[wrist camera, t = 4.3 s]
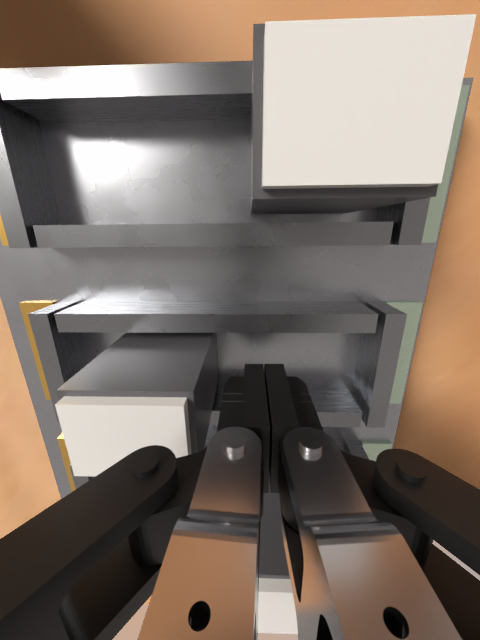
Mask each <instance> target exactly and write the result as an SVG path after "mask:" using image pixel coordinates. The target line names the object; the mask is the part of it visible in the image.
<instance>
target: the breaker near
mask: <svg viewBox="0 0 480 640" xmlns="http://www.w3.org/2000/svg"><path fill="white" fill-rule="evenodd" d="M475 19H476V14H470V15H441V16H412V17H383V18H354V19H325V20H296V21H268V22H265V24H254V27H253V69H252V110H251V214H319V213H351V212H356V211H361V210H367V209H372V208H377V207H383V206H388V205H393V204H399V203H404V202H409V201H415V200H420V199H426V198H431V197H436V194H437V189H438V184H441V182H442V177H443V173H444V168H445V163H446V158H447V153H448V149H449V144H450V139H451V134H452V129H453V125H454V120H455V115H456V110H457V105H458V100H459V96H460V91H461V86H462V81H463V76H464V72H465V67H466V62H467V57H468V52H469V48H470V43H471V38H472V33H473V28H474V24H475Z"/></svg>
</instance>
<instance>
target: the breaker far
mask: <svg viewBox="0 0 480 640" xmlns="http://www.w3.org/2000/svg"><path fill="white" fill-rule="evenodd" d="M258 632H259V633H284V634H298V627H297V617H296V609H295V603H294V598H293V592H292V586H291V581H290V575H289V570H288V564H287V558H286V553H285V547H284V542H283V536H282V531H281V525H280V498H279V493H271V490H270V482H269V493H264V500H263V515H262V518H261V533H260V565H259V596H258Z"/></svg>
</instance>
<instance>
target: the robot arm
mask: <svg viewBox="0 0 480 640" xmlns="http://www.w3.org/2000/svg"><path fill="white" fill-rule="evenodd" d="M269 478H270V490H271V493H279V498H280V525H281V531H282V536H283V542H284V547H285V553H286V558H287V564H288V570H289V575H290V581H291V586H292V592H293V598H294V603H295V609H296V617H297V627H298V640H480V581H479V580H478V579H477V578H475V577H474V576H473V575H472V574H470V573H469V572H468V571H466V570H465V569H464V568H463V567H461V566H460V565H459V564H457V563H456V562H455V561H454V560H452V559H451V558H450V557H449V556H447V555H446V554H445V553H443V552H442V551H441V550H439V549H438V548H437V547H436V546H434V545H433V544H432V543H433V540H435V541H436V542H437V543H439V544H440V545H441V546H443V547H444V548H445V549H446V550H448V551H449V552H450V553H452V554H453V555H454V556H456V557H457V558H458V559H459V560H461V561H462V562H464V563H465V564H466V565H467V566H469V567H470V568H471V569H472V570H474V571H475V572H477V573H478V574H479V575H480V490H479V489H477V488H475V487H474V486H472V485H470V484H468V483H467V482H465V481H463V480H461V479H460V478H458V477H456V476H455V475H453V474H451V473H449V472H448V471H446V470H444V469H442V468H441V467H439V466H437V465H435V464H434V463H432V462H430V461H428V460H427V459H425V458H423V457H421V456H419V455H417V454H415V453H413V452H410V451H406V450H402V449H387V450H384V451H382V452H381V453H379V455H378V456H377V459H376V461H373V460H369V459H365V458H361V457H357V456H354V455H351V454H348V453H346V452H344V451H342V450H340V449H339V447H338V445H337V443H336V442H335V441H334V439H333V438H332V437H331V436H329V435H328V434H327V433H325V432H324V431H323V428H322V426H321V423H320V420H319V417H318V415H317V412H316V409H315V407H314V404H313V403H312V399H311V396H310V395H309V391H308V388H307V385H306V384H305V383H304V382H303V381H302V380H301V379H300V378H299V377H287V376H286V372H285V368H284V364H264V367H263V364H245V369H244V377H230V378H229V379H228V381H227V382H226V383H225V384H224V389H223V396H222V402H221V408H220V414H219V420H218V427H217V432H216V433H215V434H214V435H213V436H212V437H211V439H210V441H209V443H208V446H207V447H206V448H204V449H203V450H201V451H199V452H196V453H193V454H190V455H186V456H183V457H179V458H176V457H175V454H174V453H173V452H172V451H171V450H170V449H169V448H167V447H164V446H160V445H152V446H146V447H143V448H140V449H138V450H136V451H134V452H132V453H131V454H129V455H127V456H126V457H124V458H123V459H121V460H120V461H118V462H117V463H115V464H114V465H112V466H111V467H109V468H108V469H106V470H105V471H103V472H102V473H100V474H99V475H97V476H96V477H94V478H93V479H91V480H90V481H88V482H86V483H85V484H83V485H82V486H80V487H79V488H77V489H76V490H74V491H73V492H71V493H70V494H68V495H67V496H65V497H64V498H62V499H61V500H59V501H58V502H56V503H55V504H53V505H52V506H50V507H48V508H47V509H45V510H44V511H42V512H41V513H39V514H38V515H36V516H35V517H33V518H32V519H30V520H29V521H27V522H26V523H24V524H23V525H21V526H20V527H18V528H17V529H15V530H14V531H12V532H11V533H9V534H7V535H6V536H4V537H3V538H1V539H0V640H112V639H113V638H114V637H115V636H116V635H117V633H118V632H119V631H120V630H121V629H122V628H123V626H124V625H125V624H126V623H127V622H128V621H129V620H130V619H131V617H132V616H133V615H134V614H135V613H136V612H137V610H138V609H139V608H140V607H141V606H142V605H143V604H144V603H145V602H146V600H147V599H148V598H149V597H150V596H151V595H152V597H151V600H150V603H149V606H148V609H147V612H146V615H145V618H144V621H143V625H142V627H141V631H140V634H139V637H138V640H257V634H258V596H259V565H260V533H261V518H262V515H263V500H264V493H269Z"/></svg>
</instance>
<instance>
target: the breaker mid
mask: <svg viewBox="0 0 480 640" xmlns="http://www.w3.org/2000/svg"><path fill="white" fill-rule="evenodd" d="M217 384H218V366H217V341H216V333H127V332H126V333H125V334H124V335H123V336H121V337H120V338H119V339H118V340H116V341H115V342H114V343H113V344H112V345H110V346H109V347H108V348H107V349H106V350H104V351H103V352H102V353H101V354H99V355H98V356H97V357H96V358H95V359H93V360H92V361H91V362H90V363H89V364H87V365H86V366H85V367H84V368H82V369H81V370H80V371H79V372H78V373H76V374H75V375H74V376H73V377H72V378H70V379H69V380H68V381H67V382H65V383H64V384H63V385H62V386H61V387H59V388H58V389H57V390H56V392H57V395H58V399H59V401H58V402H57V403H56V404H55V407H56V411H57V414H58V418H59V422H60V425H61V429H62V433H63V436H64V440H65V444H66V447H67V451H68V455H69V459H70V462H71V466H72V470H73V473H74V476H95V477H96V476H97V475H99V474H100V473H102V472H103V471H105V470H106V469H108V468H109V467H111V466H112V465H114V464H115V463H117V462H118V461H120V460H121V459H123V458H124V457H126V456H127V455H129V454H131V453H132V452H134V451H136V450H138V449H140V448H143V447H146V446H152V445H160V446H164V447H167V448H169V449H170V450H171V451H172V452H173V453H174V454H175V457H176V458H179V457H183V456H186V455H190V454H193V453H196V452H199V451H201V450H203V449H204V447H205V442H206V437H207V433H208V428H209V423H210V418H211V413H212V408H213V403H214V398H215V393H216V389H217Z"/></svg>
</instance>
